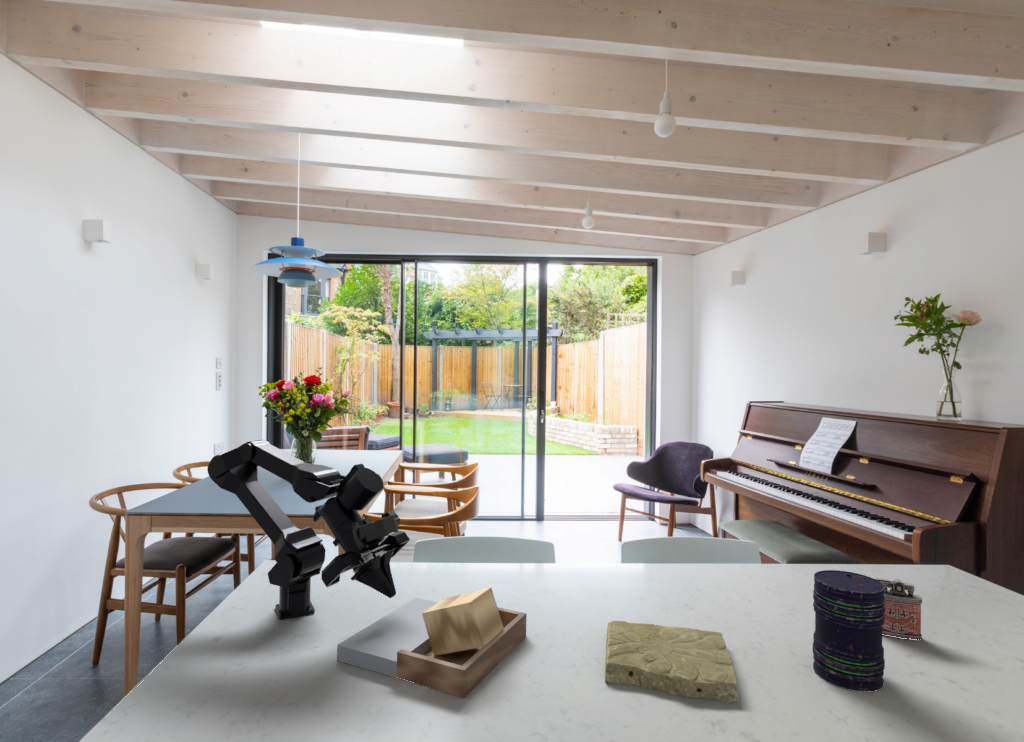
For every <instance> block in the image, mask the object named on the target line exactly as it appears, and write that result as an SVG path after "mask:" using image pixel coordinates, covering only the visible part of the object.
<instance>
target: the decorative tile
mask: <svg viewBox="0 0 1024 742" xmlns="http://www.w3.org/2000/svg"><path fill="white" fill-rule="evenodd" d="M606 629H607V630H606V641H605V644H606V646H605V653H606V654H605V662H604V663H605V664H604V665H605V669H604V681H605V682H606V683H608V684H611V685H618V686H621V685H622V686H626V685H627V686H628V685H630V686H636V687H641V688H645V689H649V690H655V691H656V690H657V691H662V692H664V693H666V694H667V693H668V694H670V695H672V696H683V697H686V698H693V699H694V698H695V699H707V700H714V701H722V702H729V703H740V695H739V686H738V683H737V678H736V674H735V672H734V669H733V665H732V661H731V656H730V653H729V651H728V648H727V645H726V642H725V639H724V637H723V633H722V632H719V631H713V630H712V631H711V630H703V629H698V628H690V627H680V626H673V625H672V626H671V625H670V626H669V625H660V624H659V625H658V624H654V623H641V622H640V623H636V622H628V621H625V620H611V621H609V622H607V628H606Z"/></svg>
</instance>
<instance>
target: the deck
mask: <svg viewBox="0 0 1024 742" xmlns="http://www.w3.org/2000/svg"><path fill="white" fill-rule="evenodd" d="M438 602H439V601H433V600H429V599H424V598H420V597H414V598H412V599H411V600H410V601H408V602H406V603H405V604H403V605H401V606H400V607H398V608H396V609H395V610H392V611H391V612H389V613H388V614H386V615H385V616H383V617H381V618H379V619H378V620H376V621H375V622H373V623H371V624H369V625H368V626H366V627H365V628H363V629H362V630H359V631H358V632H356V633H355V634H353V635H351V636H350V637H348V638H346V639H345V640H343V641H342V642H340V643H338V644H337V645H336V648H337V649H336V651H337V652H336V653H337V654H336V660H337V661H338V662H342V663H346V664H349V665H353V666H354V667H355V666H356V667H358V666H359V668H362V667H363V668H362V669H365V668H367V669H366V670H368V669H370V670H369V671H372V672H375V671H376V673H378V672H380V673H379V674H382V673H383V675H385V674H387V675H386V676H388V675H391V676H390V677H392V676H394V677H393V678H395V677H397V652H398V651H399V650H401V649H402V650H406V651H409V652H413V653H417V654H420V655H423V654H424V653H426V652H427V651H428V650H430V649H431V648H432V647H431V643H430V640H429V636H428V633H427V629H426V626H425V622H424V619H423V615H422V613H423V612H425V611H426V610H428V609H429V608H431V607H432V606H434V605H435V604H437V603H438Z"/></svg>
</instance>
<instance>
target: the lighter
mask: <svg viewBox="0 0 1024 742" xmlns="http://www.w3.org/2000/svg"><path fill="white" fill-rule="evenodd" d="M874 579H875V580H878V581H879V582H881V583H882V584H883V585H884V587H885V590H884V594H883V595H884V602H885V613H884V616H885V620H884V624H883V625H882V634H884V635H890V636H896V637H901V638H907V639H909V638H911V639H917V640H918V639H919V640H920V639H922V640H923V634H922V603H923V597H922V596H920V595H917V594H914V593H915V584H913V583H911V582H910V583H909V582H908V583H907V582H903V581H902V580H900V579H899V578H895V579H893V580H890V579H889V578H888V579H887V578H882V577H881V578H879V577H875V578H874ZM888 589H889V590H888ZM906 591H907V592H906Z"/></svg>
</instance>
